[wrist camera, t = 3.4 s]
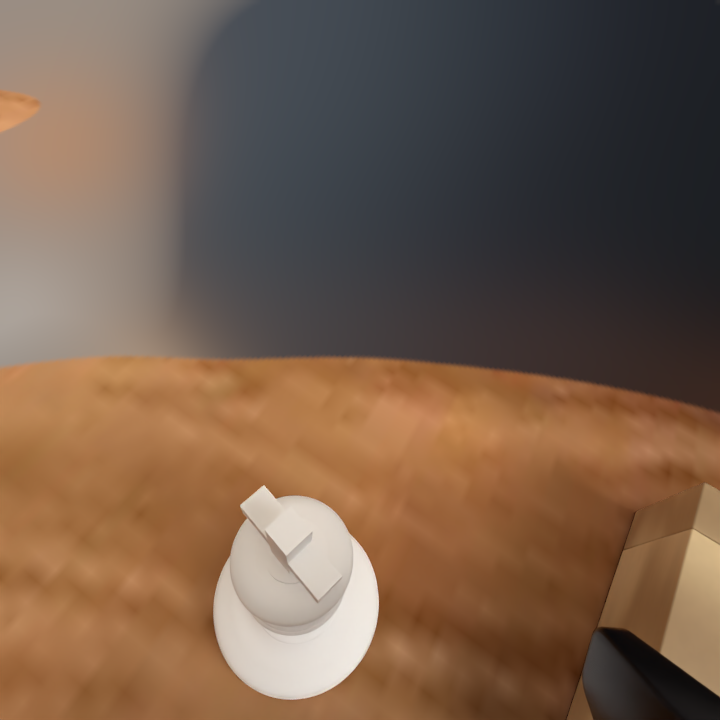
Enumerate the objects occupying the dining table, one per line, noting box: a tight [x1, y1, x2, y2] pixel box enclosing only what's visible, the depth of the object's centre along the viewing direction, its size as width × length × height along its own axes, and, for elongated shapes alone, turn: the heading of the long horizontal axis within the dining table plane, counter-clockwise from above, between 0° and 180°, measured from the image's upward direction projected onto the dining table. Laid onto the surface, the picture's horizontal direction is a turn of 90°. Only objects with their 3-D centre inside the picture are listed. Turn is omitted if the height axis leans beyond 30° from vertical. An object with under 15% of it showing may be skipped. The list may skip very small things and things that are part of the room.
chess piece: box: [213, 486, 379, 700], centre depth 11 cm, size 5×5×10 cm
